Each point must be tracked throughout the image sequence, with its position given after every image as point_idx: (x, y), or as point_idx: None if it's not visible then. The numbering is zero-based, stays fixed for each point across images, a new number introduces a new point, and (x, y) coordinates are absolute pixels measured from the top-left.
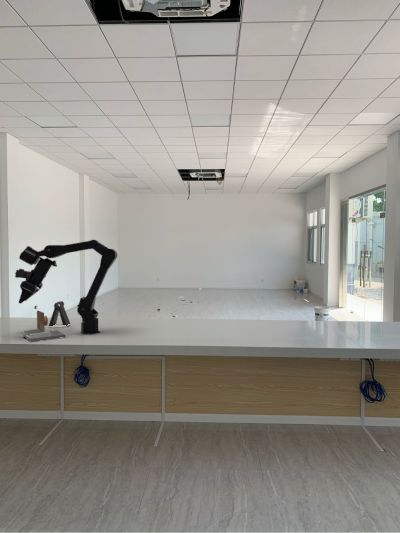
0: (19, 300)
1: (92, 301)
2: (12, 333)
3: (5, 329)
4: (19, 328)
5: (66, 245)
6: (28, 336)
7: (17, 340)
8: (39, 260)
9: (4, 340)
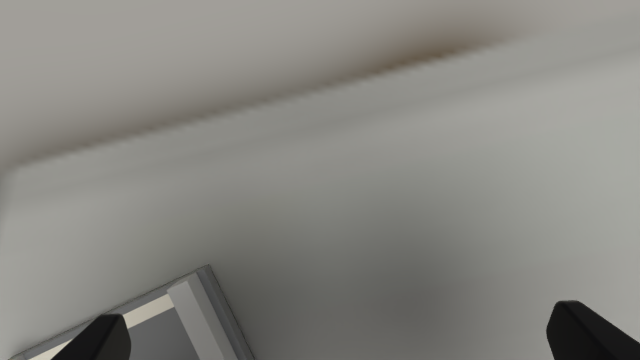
0: (66, 353)
1: None
2: (408, 131)
3: (609, 26)
4: (626, 138)
5: None
6: None
7: (106, 240)
8: None
9: (131, 137)
